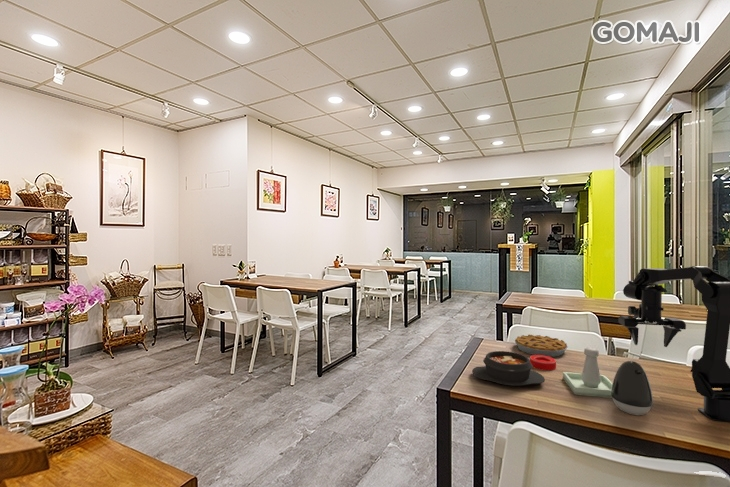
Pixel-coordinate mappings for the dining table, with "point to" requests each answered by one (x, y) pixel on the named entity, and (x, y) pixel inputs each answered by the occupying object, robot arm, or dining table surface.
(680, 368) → the dining table surface
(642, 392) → the dark grey egg shape
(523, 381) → the casserole
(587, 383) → the salt shaker
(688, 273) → the robot arm
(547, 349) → the pie
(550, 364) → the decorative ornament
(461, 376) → the dining table surface
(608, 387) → the tray
